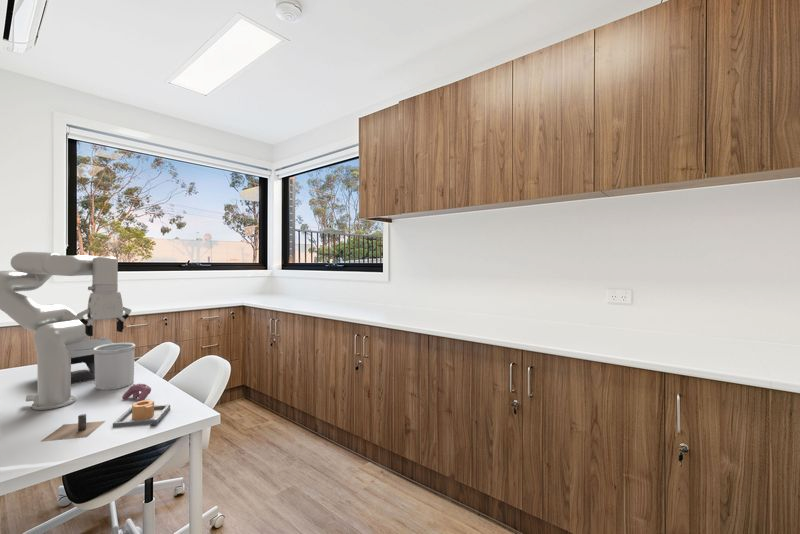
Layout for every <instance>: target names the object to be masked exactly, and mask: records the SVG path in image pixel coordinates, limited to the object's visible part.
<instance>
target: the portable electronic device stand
mask: <svg viewBox="0 0 800 534" xmlns="http://www.w3.org/2000/svg"><path fill="white" fill-rule="evenodd" d="M113 343H115V342H114V341H113V340H111V339H109V338H108V337H107V336H105V337H99V338H89V339H85V340H84V341H81V342H78V343H74V344H69V345H65V348H66V349H67V351H68V352H69V353H70V356H71V366H72V365H77V364H83V363H84V364H85V365H86V366H87V369H78V370H73V371H71V385H72V384H77V383H82V382H88V381H93V380H94V381H95V362H94V351H93V349H94V348H95V347H98V346H101V345H106V344H113Z"/></svg>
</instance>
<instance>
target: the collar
mask: <svg viewBox="0 0 800 534" xmlns="http://www.w3.org/2000/svg"><path fill="white" fill-rule="evenodd" d="M154 406H155V401H154V400H152V399H144V400H143V401H139V402H138V401H136V402H134V403H133V404H132V406H131V407H132V413H131V420H132V421H135V420H146V419H152V418H153V416H154V415H155V410H154Z"/></svg>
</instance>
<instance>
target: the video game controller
mask: <svg viewBox="0 0 800 534" xmlns="http://www.w3.org/2000/svg"><path fill="white" fill-rule="evenodd" d="M151 392H152V387H150V386H149V385H147V384H145V383H135V384H134V383H132V385H131V386H130V387H129V388H128V389H127V390H126V391H125V392H124V393H123V394H122V400H124V399H125V400H127V399H128V398H130V397H131V396H132V398H134V399H137V400H136V402H139V401H143V400H146V399H147V397H148V396H149V395H150V394H151Z"/></svg>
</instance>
